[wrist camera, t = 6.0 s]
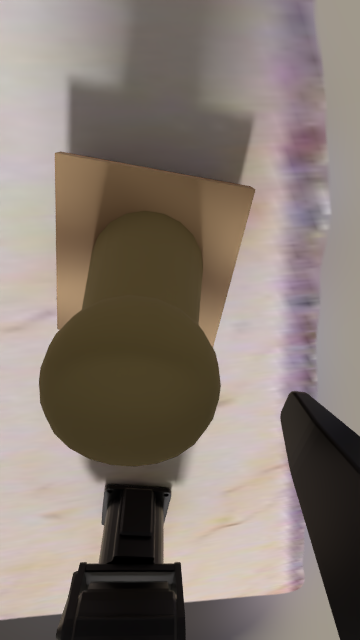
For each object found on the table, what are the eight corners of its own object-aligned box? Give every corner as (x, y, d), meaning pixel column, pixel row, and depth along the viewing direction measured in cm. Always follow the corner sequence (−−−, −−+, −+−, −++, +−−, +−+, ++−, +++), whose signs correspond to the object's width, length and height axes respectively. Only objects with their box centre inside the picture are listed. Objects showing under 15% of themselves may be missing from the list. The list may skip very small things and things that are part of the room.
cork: (184, 193, 16) (211, 291, 6) (215, 299, 19) (265, 471, 9) (70, 232, 17) (-55, 370, 7) (117, 328, 20) (73, 514, 10)
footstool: (207, 323, 23) (212, 347, 21) (69, 305, 22) (57, 329, 20) (242, 181, 19) (255, 189, 16) (71, 149, 17) (54, 153, 15)
